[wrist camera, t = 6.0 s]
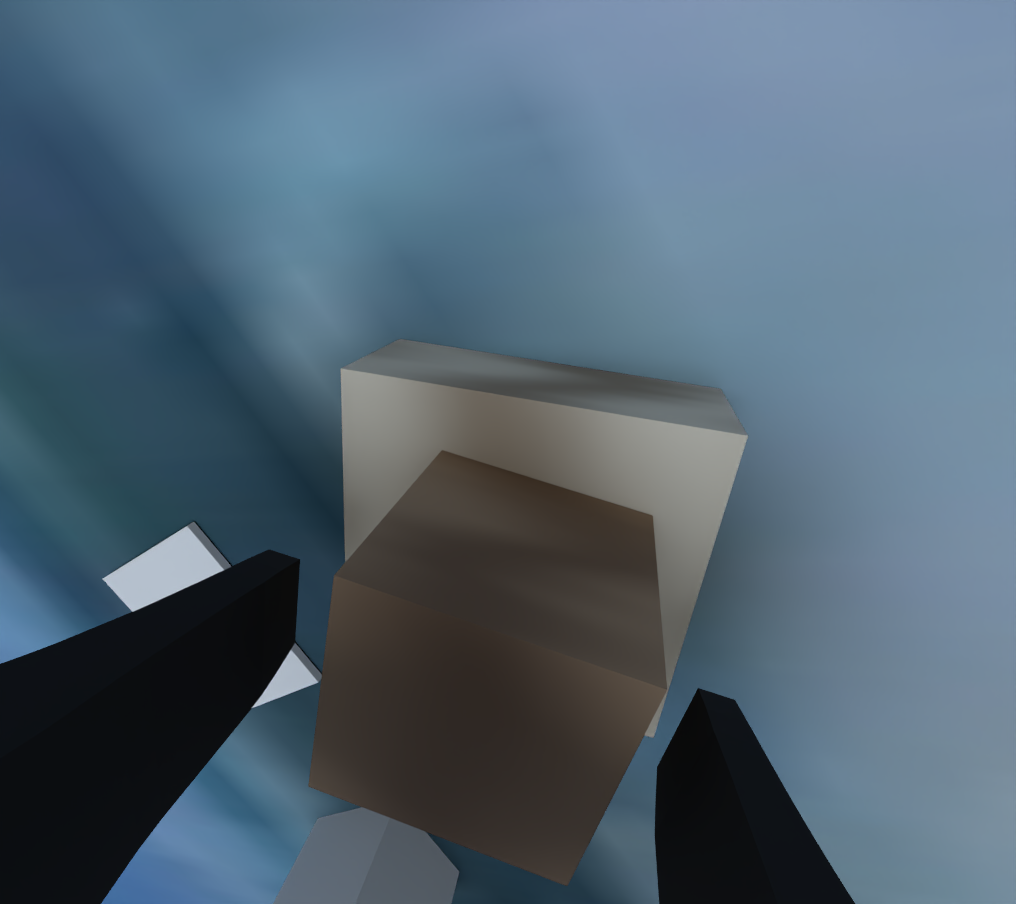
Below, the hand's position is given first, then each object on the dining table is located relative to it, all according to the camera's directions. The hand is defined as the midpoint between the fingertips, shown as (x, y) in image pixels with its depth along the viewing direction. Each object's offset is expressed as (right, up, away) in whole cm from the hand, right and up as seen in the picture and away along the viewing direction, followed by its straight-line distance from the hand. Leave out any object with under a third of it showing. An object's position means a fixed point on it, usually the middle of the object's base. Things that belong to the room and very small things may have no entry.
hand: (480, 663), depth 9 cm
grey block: (-5, -13, +13) cm, 19 cm away
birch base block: (+1, +2, +6) cm, 6 cm away
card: (-10, -3, +10) cm, 14 cm away
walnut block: (+1, +1, +2) cm, 3 cm away
